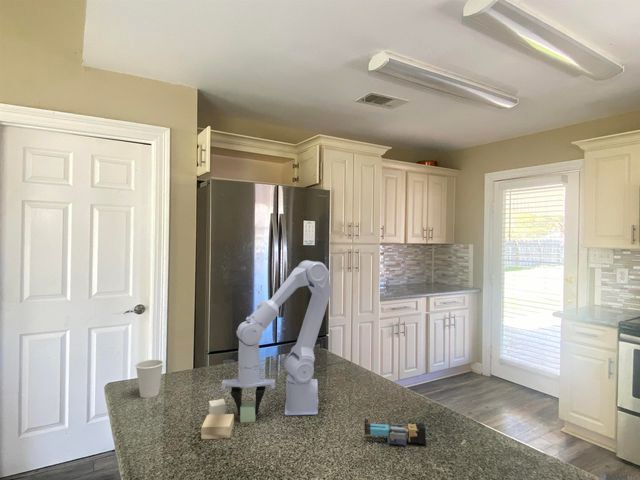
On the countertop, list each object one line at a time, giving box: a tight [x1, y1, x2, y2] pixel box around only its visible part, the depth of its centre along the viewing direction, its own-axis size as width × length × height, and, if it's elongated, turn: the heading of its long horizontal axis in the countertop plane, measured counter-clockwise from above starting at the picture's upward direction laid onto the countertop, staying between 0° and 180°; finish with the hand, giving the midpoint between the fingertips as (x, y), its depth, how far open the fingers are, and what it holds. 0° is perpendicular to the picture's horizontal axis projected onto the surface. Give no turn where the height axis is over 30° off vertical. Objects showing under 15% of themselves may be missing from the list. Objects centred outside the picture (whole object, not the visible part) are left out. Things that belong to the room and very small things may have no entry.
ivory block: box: [208, 398, 227, 415], centre depth 109 cm, size 4×4×4 cm
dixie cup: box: [135, 359, 165, 399], centre depth 124 cm, size 8×8×10 cm
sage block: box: [239, 400, 257, 423], centre depth 108 cm, size 4×4×4 cm
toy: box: [364, 418, 427, 447], centre depth 96 cm, size 6×4×15 cm
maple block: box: [200, 413, 235, 440], centre depth 100 cm, size 7×7×3 cm
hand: (248, 413), depth 108 cm, fingers closed on sage block, 4 cm apart
